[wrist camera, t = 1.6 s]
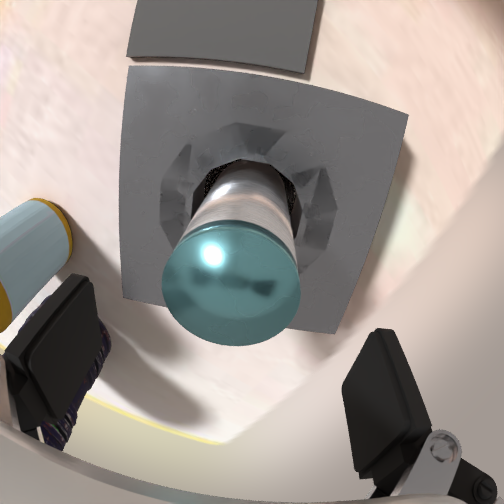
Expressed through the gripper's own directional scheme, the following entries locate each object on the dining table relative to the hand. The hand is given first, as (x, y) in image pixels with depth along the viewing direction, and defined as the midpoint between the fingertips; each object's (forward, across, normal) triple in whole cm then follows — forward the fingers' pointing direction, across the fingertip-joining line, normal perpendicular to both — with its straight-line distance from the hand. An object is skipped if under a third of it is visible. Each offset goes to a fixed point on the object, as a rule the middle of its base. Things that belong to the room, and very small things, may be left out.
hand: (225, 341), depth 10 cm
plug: (+14, 0, -1) cm, 14 cm away
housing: (+14, 0, -1) cm, 14 cm away
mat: (+13, +4, -16) cm, 21 cm away
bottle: (+14, +18, +5) cm, 23 cm away
